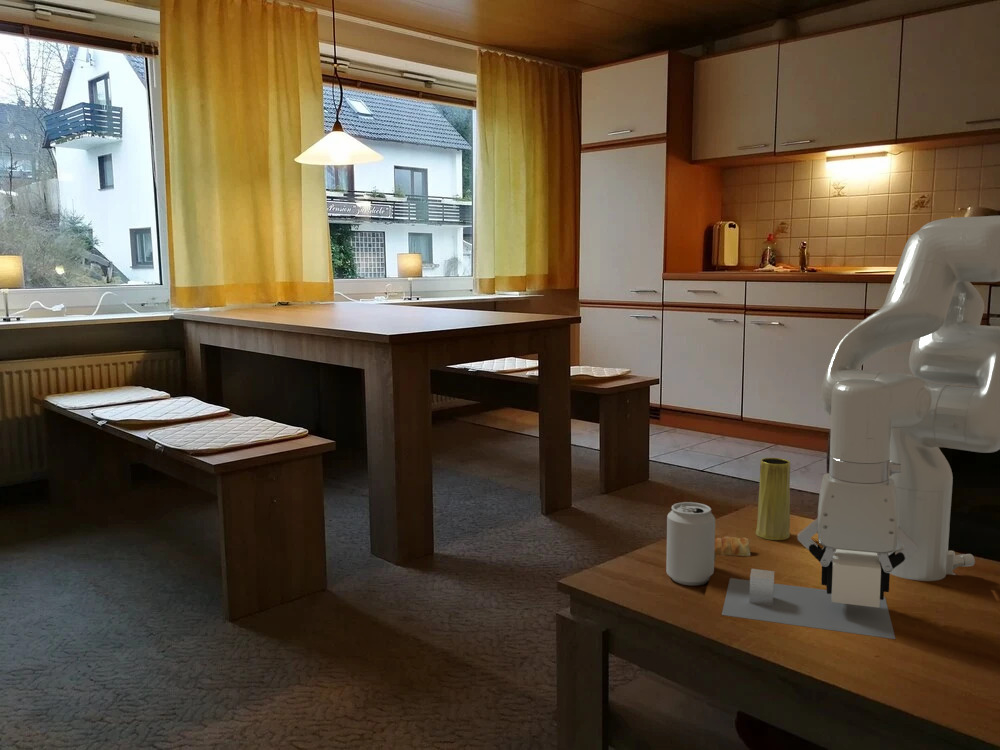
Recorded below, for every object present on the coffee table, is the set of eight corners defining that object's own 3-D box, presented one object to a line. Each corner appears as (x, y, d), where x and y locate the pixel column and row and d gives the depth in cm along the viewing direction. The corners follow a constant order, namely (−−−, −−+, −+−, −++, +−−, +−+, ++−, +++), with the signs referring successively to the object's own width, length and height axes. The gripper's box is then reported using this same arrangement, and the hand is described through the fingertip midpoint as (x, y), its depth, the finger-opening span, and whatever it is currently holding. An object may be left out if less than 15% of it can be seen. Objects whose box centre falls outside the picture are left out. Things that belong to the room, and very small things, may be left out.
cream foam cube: (875, 589, 113) (877, 552, 113) (879, 607, 108) (881, 568, 107) (830, 584, 116) (831, 548, 115) (831, 602, 110) (833, 564, 109)
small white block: (773, 597, 117) (774, 571, 116) (772, 605, 114) (773, 579, 113) (750, 594, 118) (751, 568, 117) (749, 602, 115) (750, 576, 114)
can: (715, 589, 124) (717, 515, 122) (666, 585, 125) (667, 512, 123) (712, 571, 131) (714, 501, 129) (666, 568, 132) (667, 498, 131)
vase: (758, 540, 145) (760, 464, 143) (753, 529, 151) (755, 456, 149) (792, 541, 144) (796, 465, 142) (786, 530, 150) (789, 457, 148)
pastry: (695, 563, 135) (695, 541, 135) (694, 549, 142) (694, 529, 141) (752, 566, 133) (753, 545, 133) (749, 553, 140) (749, 532, 139)
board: (884, 606, 116) (885, 597, 116) (894, 649, 103) (895, 638, 103) (729, 587, 124) (729, 578, 124) (721, 624, 111) (721, 614, 111)
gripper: (925, 466, 109) (918, 589, 112) (792, 458, 115) (789, 575, 118) (933, 481, 102) (926, 612, 105) (791, 472, 108) (788, 596, 111)
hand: (854, 591), depth 112 cm, fingers closed on cream foam cube, 5 cm apart
